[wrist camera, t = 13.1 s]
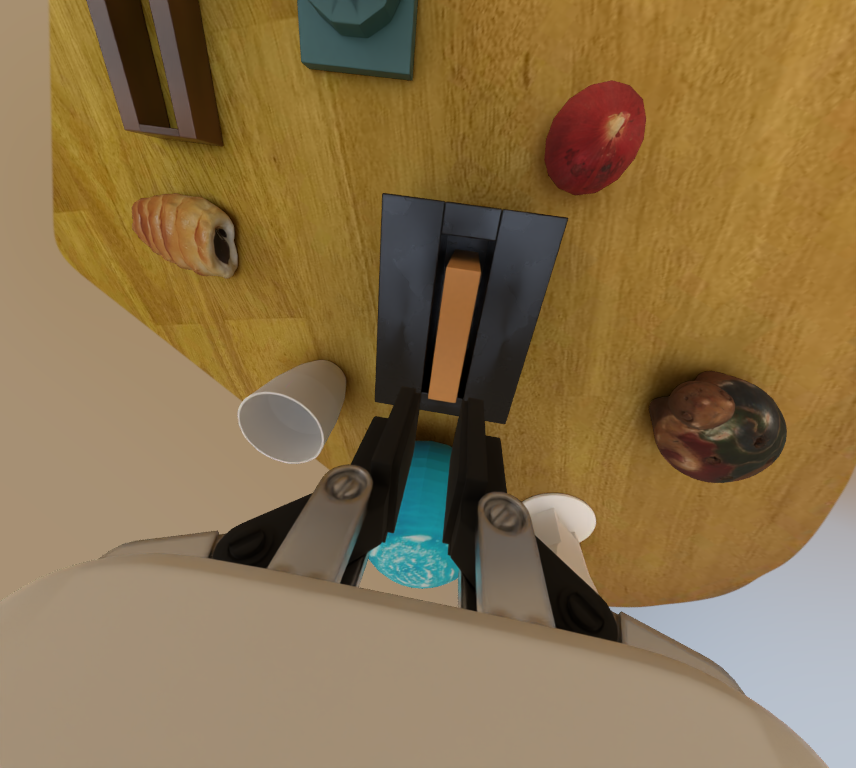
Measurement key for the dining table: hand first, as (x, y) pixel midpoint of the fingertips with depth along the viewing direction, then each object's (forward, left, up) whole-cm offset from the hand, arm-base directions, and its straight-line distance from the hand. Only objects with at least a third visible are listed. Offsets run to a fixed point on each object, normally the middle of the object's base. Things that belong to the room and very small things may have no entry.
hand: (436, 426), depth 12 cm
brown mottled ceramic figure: (+8, +26, -21) cm, 35 cm away
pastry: (-2, -26, -21) cm, 34 cm away
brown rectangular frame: (-15, -25, -21) cm, 36 cm away
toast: (0, 0, -19) cm, 19 cm away
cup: (+12, -14, -21) cm, 28 cm away
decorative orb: (+22, 0, -21) cm, 31 cm away
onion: (-12, +7, -21) cm, 25 cm away
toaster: (0, 0, -21) cm, 21 cm away
